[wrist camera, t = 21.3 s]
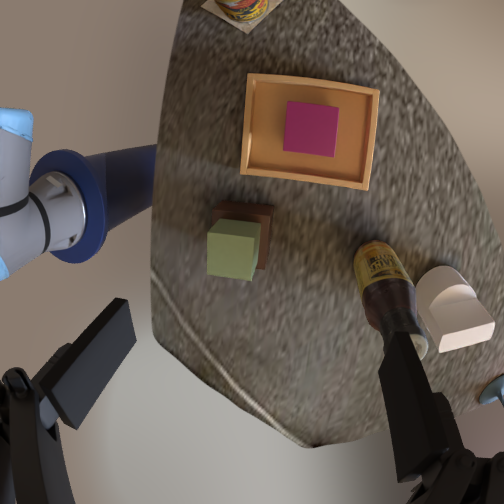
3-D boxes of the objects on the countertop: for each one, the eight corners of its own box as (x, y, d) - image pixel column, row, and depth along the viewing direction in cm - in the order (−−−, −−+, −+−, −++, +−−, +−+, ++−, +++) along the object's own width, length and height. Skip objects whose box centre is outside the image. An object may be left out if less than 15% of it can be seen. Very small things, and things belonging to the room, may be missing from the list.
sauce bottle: (398, 242, 38) (457, 328, 19) (384, 281, 40) (425, 380, 22) (356, 232, 38) (396, 318, 20) (343, 272, 41) (366, 374, 23)
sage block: (218, 256, 37) (206, 274, 33) (219, 218, 35) (207, 232, 31) (257, 261, 36) (251, 281, 32) (261, 223, 34) (254, 237, 30)
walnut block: (220, 247, 42) (210, 262, 38) (222, 200, 39) (212, 209, 35) (269, 254, 41) (264, 270, 37) (274, 205, 39) (270, 216, 34)
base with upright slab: (411, 318, 42) (433, 369, 31) (415, 269, 39) (445, 315, 28) (456, 309, 40) (485, 355, 29) (463, 261, 37) (501, 301, 26)
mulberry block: (285, 148, 35) (282, 150, 30) (289, 105, 32) (287, 100, 27) (329, 154, 34) (334, 157, 29) (333, 111, 32) (339, 107, 27)
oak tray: (244, 171, 37) (239, 174, 35) (251, 77, 32) (247, 73, 30) (363, 186, 36) (367, 190, 33) (374, 92, 30) (379, 89, 28)
